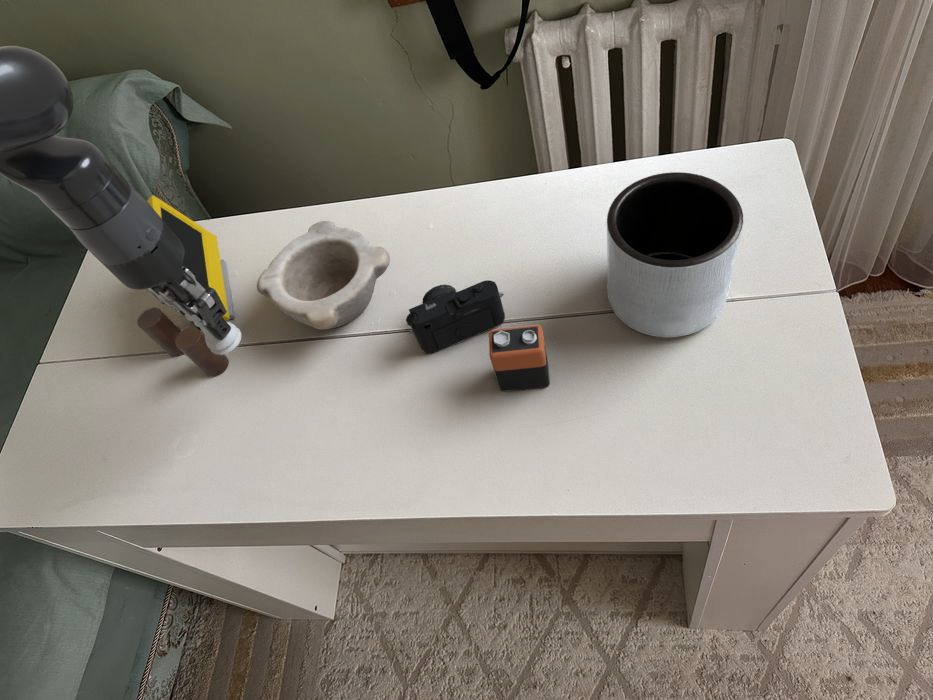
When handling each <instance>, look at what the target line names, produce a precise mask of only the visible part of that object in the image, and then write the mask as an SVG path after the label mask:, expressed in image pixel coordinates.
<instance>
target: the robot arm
mask: <svg viewBox="0 0 933 700" xmlns="http://www.w3.org/2000/svg"><path fill="white" fill-rule="evenodd" d="M73 110H74V96H73V90H72V87H71V84H70V83H69V81H68V79H67V77H66V75H65V74H64V72H63V71H62V70H61V69H60V68H59V67H58V66H57V65H56V64H55V63H54V62H53V61H52V60H51V59H50V58H48V57H47V56H45V55H43V54H41V53H40V52H38V51H36V50H33V49H30V48H27V47H23V46H18V45H4V46H0V175H1V176H2V177H4V178H5V179H7V180H9V181H10V182H12V183H14V184H15V185H17V186H20V187H21V188H23V189H25V190H27V191H28V192H30V193H32V194H34V195H35V196H36V197H37V198H38V199H39V200H40V201H41V202H42V203H43V204H44V205H45V206H46V207H47V208H48V209H49V211H51V212H52V213H53V214H54V215H55V216H56V217H58V219H60V221H62V223H63V224H64V225H66V226H67V227H68V229H69V230H70V231H71V232H72V233H73V235H74V236H75V237H76V239H77V240H78V241H79V242H80V244H82V246H83V247H84V248H85V249H86V250H88V251H89V253H91V254H92V256H93V257H95V258H96V259H97V260H98V261H99V262H100V263H101V265H103V266H104V267H105V268H106V269H107V270H108V271H109V272H110V273H111V274H112V275H113V276H114V277H115V278H116V279H117V280H118V281H119V282H121V283H122V284H123V285H124V286H125V287H127V288H129V289H132V290H138V291H139V290H146V291H148V292H149V293H150V294H152V295H153V296H154V297H155V298H156V299H158V300H159V302H160V303H161V304H163V305H165V306H168V307H171V308H172V310H173V311H174V312H176V313H178V314H180V315H181V316H183V318H184V319H186V317H185V314H188V315H190V316H194V317H195V318H196V319H197V320H198V321H199V323H200V324H202V325H203V326H204V327H205V328H206V329H207V330H208V331H209V332H210V333H211V334H212V335H213V336H214V337H215V338H216V339H218V340H223V339H224V338H225V337H226V335H227V334H228V333H229V332H230V330H231V326H230V325H229V324H228V323H227V322H228V321H225V320H224V318H223V315H225V314H226V313H227V311H226V309H225V307H224V305H223V303H222V301H221V299H220V297H219V295H218V293H217V292H216V290H215V289H213V288H211V287H208V288H207V289H206V290H205V289H204V288H203V287H202V286H201V285H200V284H199V283H198V282H197V281H196V279H195V276H194V275H193V274H192V273H191V272H190V271H189V270H188V269H187V268H186V267H184V266H183V267H182V263H183V258H184V247H183V244H182V243H181V241H180V240H179V239H178V238H177V236H176V235H175V234H174V233H173V232H172V231H171V229H170V228H169V227H168V226H167V225H166V223H165V222H164V221H163V220H162V219H161V217H160V216H159V215H158V214H157V213H156V211H155V210H154V209H153V208H152V207H151V205H150V204H149V203H148V202H147V199H146V198H145V197H143V196H142V194H140V193H139V191H137V190H136V189H135V188H134V187H133V186H132V185H131V184H130V183H129V182H128V181H127V180H126V179H125V177H124V176H123V175H122V173H121V172H120V171H119V170H118V169H117V168H116V167H115V166H114V164H113V163H112V162H111V161H110V160H109V158H108V157H107V156H106V155H105V154H104V152H102V151H101V150H100V149H99V147H97V145H95V144H93V143H92V142H90V141H87V140H85V139H81V138H75V137H74V138H73V137H64V136H58V135H57V134H59V133H60V132H61V131H62V130H63V129H64V128H65V127H66V126H67V125H68V124H69V121H70V119H71V118H72V117H71V116H72V114H73ZM56 135H57V136H56ZM189 302H190V303H189ZM187 303H189V304H188V305H186V304H187ZM198 311H199V312H198ZM187 322H188V323H189V322H190V323H191V324H192V325H193V327H194V328H196V329H198V330H201V328H200V327H197V326H196V325H195V324H194V321H189V320H187ZM201 331H202V330H201Z"/></svg>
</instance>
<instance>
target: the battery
mask: <svg viewBox="0 0 933 700" xmlns="http://www.w3.org/2000/svg"><path fill="white" fill-rule="evenodd" d="M545 342H546V341H545V337H544V331H543V327H542V325H540V324H532V325H524V326H514V327H504V328H496V329H490V330H489V332H488V352H489V355H488V356H489V360H490V363H491V366H492V369H493V373H494V375H495V378H496V382H497V385H498V388H499V390H500V391H501V392H508V391H519V390H529V389H541V388H548V387H549V386H550V383H551V382H550V370H549V359H548V354H547V348H546V343H545Z"/></svg>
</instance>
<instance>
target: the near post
mask: <svg viewBox="0 0 933 700" xmlns="http://www.w3.org/2000/svg"><path fill="white" fill-rule="evenodd" d="M181 330H182V331H181V332H180V333H179V334H178V335H177V337H176V340H175V343H176V346H177V347H178V348H179V349H180V350H181V351H182V352H183V353H184V354H183V355H186V357H187V358H188V359H189V360H190V361H191V362H193V364H195V365H196V366H197V367H198V368H199V369H200V370H201V371H202V372H203V373H204V374H205V375H206V376H208V377H211V378H214V377H215V378H216V377H218V376H220V375H222V374H223V373H224V372H225V371H226V370H227V369H228V367H229V363H230V362H229V361H230V360H229V358H228V357H227V355H226V354H224V355H219V354H214V353H213V352H211V350H210V348H208V346H207V344H206V342H205V334H204V333H203V331H202V330H198V329H196V328H194V327H193V326H190V325H189V326H187V327H185V328H183V329H181Z"/></svg>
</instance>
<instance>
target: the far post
mask: <svg viewBox="0 0 933 700" xmlns="http://www.w3.org/2000/svg"><path fill="white" fill-rule="evenodd" d="M136 325H137V327H138V328H139V329H140V330H141V331H143V333H145V334H146V335H147V336H148V337H149V338H150V339H151V340H153V341H154V343H155V344H157V346H159V347H160V348H161V349H162V350H163V351H164V352H165V353H167V354H168V355H169V356H170V357H173V358H177V357H180V356H183V355H185V354H184V353H183V352H182V351H181V350H180V349H179V348H178V347H177V346H176V343H175V340H176V337H177V335H178V334H179V333H180V332H181V331H182V330H183V329H181V328H180V327H179V326H178V325H176V323H175V322H174V321H173V320H171V318H170V317H169V316H167V315H166V314H165V312H163V310H162V309H160V308H159V307H149V308H147V309H146V310H144V311H143V312H141V314H140V315H139V316H138V318H137V321H136Z"/></svg>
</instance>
